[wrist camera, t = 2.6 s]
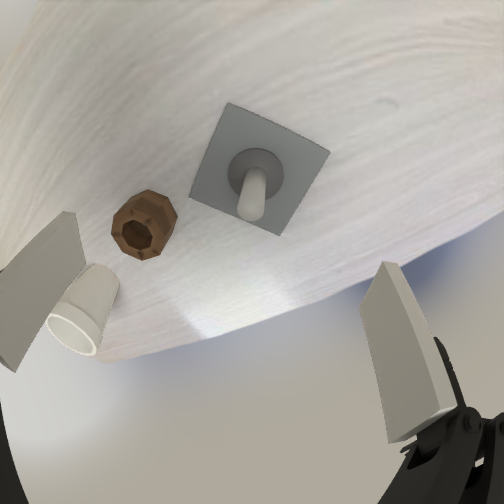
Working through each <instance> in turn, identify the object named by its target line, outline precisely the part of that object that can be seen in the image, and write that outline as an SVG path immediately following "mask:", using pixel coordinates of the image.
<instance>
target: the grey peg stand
mask: <svg viewBox="0 0 504 504" xmlns="http://www.w3.org/2000/svg"><path fill="white" fill-rule="evenodd" d="M329 154H330V151H328V150H327V149H325V148H323V147H321V146H319V145H318V144H316V143H314V142H312V141H310V140H308V139H306V138H304V137H303V136H301V135H299V134H297V133H295V132H293V131H291V130H289V129H287V128H285V127H283V126H281V125H279V124H276V123H274V122H272V121H270V120H268V119H266V118H264V117H261V116H259V115H257V114H255V113H252V112H250V111H248V110H245V109H243V108H241V107H238V106H236V105H233V104H231V103H228V104H227V106H226V108H225V110H224V113H223V115H222V117H221V119H220V122H219V124H218V126H217V128H216V131H215V133H214V135H213V138H212V140H211V142H210V145H209V147H208V149H207V152H206V154H205V157H204V159H203V162H202V164H201V167H200V169H199V172H198V174H197V177H196V179H195V182H194V184H193V187H192V190H191V192H190V195H189V198H192V199H194V200H197V201H199V202H201V203H204V204H206V205H209V206H211V207H213V208H216V209H218V210H220V211H223V212H225V213H228V214H230V215H232V216H235V217H237V218H239V219H242V220H244V221H246V222H249V223H251V224H253V225H255V226H258V227H260V228H262V229H265V230H267V231H269V232H272V233H274V234H276V235H278V236H280V235H281V233H282V231H283V230H284V228H285V227H286V225H287V223H288V222H289V220H290V219H291V217H292V215H293V214H294V212H295V210H296V209H297V207H298V206H299V204H300V202H301V201H302V199H303V197H304V196H305V194H306V192H307V191H308V189H309V188H310V186H311V184H312V183H313V181H314V179H315V178H316V176H317V174H318V173H319V171H320V169H321V168H322V166H323V164H324V163H325V161H326V159H327V158H328V156H329Z"/></svg>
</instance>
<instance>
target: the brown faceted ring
mask: <svg viewBox="0 0 504 504" xmlns="http://www.w3.org/2000/svg"><path fill="white" fill-rule="evenodd" d="M177 217H178V216H177V214H176V212H175V210H174V208H173V207H172V205H171V203H170V201H169V199H168V197H165V196H163V195H160V194H158V193H155V192H153V191H150V190H146V191H144V192H141V193H139V194H137V195H135V196H133V197H131V198H130V199H129V200H128V201H127V202H126V203H125V204H124V205H123V206H122V207H121V208H120V209H119V211H118V212H117V213H116V214H115V215H114V217H113V224H112V231H111V235H112V236H113V238H114V240H115V241H116V243H117V244H118V246H119V247H120V249H121V250H122V252H124V253H126V254H128V255H130V256H133V257H135V258H137V259H140V260H142V261H143V260H146V259H149V258H152V257H156V256H159V255H160V254H161V252H162V250H163V248H164V247H165V245H166V243H167V241H168V239H169V238H170V236H171V234H172V232H173V229H174V226H175V223H176V220H177ZM142 223H143V224H145V225H146V226H145V225H143V224H142Z"/></svg>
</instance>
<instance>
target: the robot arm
mask: <svg viewBox="0 0 504 504" xmlns="http://www.w3.org/2000/svg"><path fill="white" fill-rule="evenodd" d="M85 264H86V260H85V256H84V252H83V248H82V243H81V239H80V234H79V229H78V224H77V219H76V213H73V212H66V211H63V212H62V213H61V214H59V215H58V216H57V217H56V218H55V219H54V220H53V221H51V222H50V223H49V224H48V225H47V226H46V227H45V228H44V229H43V230H42V231H41V232H39V233H38V234H37V235H36V236H35V237H34V238H33V239H32V240H31V241H30V242H29V243H28V244H27V245H26V246H25V247H24V248H23V249H22V250H21V251H20V252H19V253H18V254H17V255H16V256H15V257H14V259H13V260H12V261H11V262H10V263H9V264H8V265H7V266H6V267H5V268H4V269H3V270H1V271H0V362H1V363H2V364H3V365H4V366H5V367H7V368H8V369H10V370H11V371H13V372H14V373H15V372H16V370H17V368H18V366H19V365H20V363H21V361H22V359H23V357H24V356H25V354H26V352H27V350H28V348H29V347H30V345H31V343H32V342H33V340H34V338H35V337H36V335H37V333H38V332H39V330H40V328H41V327H42V325H43V324H44V322H45V321H46V319H47V317H48V316H49V314H50V313H51V311H52V310H53V308H54V307H55V305H56V304H57V302H58V301H59V299H60V298H61V297H62V295H63V294H64V292H65V291H66V290H67V288H68V287H69V285H70V284H71V283H72V281H73V280H74V279H75V277H76V276H77V275H78V273H79V272H80V271H81V269H82V268H83V267H84V265H85ZM359 311H360V315H361V318H362V322H363V326H364V329H365V333H366V337H367V341H368V345H369V349H370V353H371V357H372V361H373V365H374V369H375V374H376V378H377V383H378V387H379V392H380V397H381V402H382V407H383V413H384V418H385V424H386V430H387V437H388V443H389V444H390V443H395V442H400V441H405V440H407V439H409V438H411V437H412V436H414V435H417V440H416V441H414V442H413V443H411V444H409V445H407V446H405V447H403V448H402V450H401V451H400V453H403V452H405V451H407V450H409V449H410V450H409V452H407V453H406V454H405V456H406V458H405V460H404V461H403V463H402V465H401V467H400V469H399V471H398V472H397V474H396V476H395V477H394V479H393V480H392V482H391V484H390V485H389V487H388V489H387V490H386V492H385V493H384V495H383V496H382V498H381V499H380V501H379V502H378V504H504V412H503V413H500V414H499V415H498V416H496V417H495V418H494V419H486V418H481V416H480V414H479V412H478V411H477V410H476V409H474V408H472V407H466V404H465V402H464V399H463V395H462V392H461V389H460V387H459V383H458V380H457V378H456V375H455V372H454V371H453V367H452V364H451V362H450V361H449V357H448V354H447V352H446V349H445V347H444V346H443V344H442V343H441V342H440V341H439V339H438V338H437V337H433V336H432V333H431V331H430V329H429V327H428V325H427V322H426V320H425V318H424V316H423V313H422V311H421V309H420V307H419V305H418V303H417V301H416V299H415V297H414V294H413V292H412V290H411V288H410V286H409V285H408V283H407V281H406V279H405V277H404V275H403V273H402V271H401V269H400V267H399V266H398V264H397V263H392V262H386V261H382V263H381V265H380V267H379V269H378V272H377V274H376V276H375V278H374V279H373V282H372V283H371V285H370V287H369V289H368V291H367V293H366V295H365V297H364V299H363V300H362V303H361V304H360V306H359ZM483 457H484V462H483V464H482V465H480V466H478V467H475V461H477V460H479V459H481V458H483ZM0 504H29V503H28V500H27V498H26V496H25V493H24V490H23V488H22V485H21V483H20V480H19V477H18V475H17V471H16V468H15V465H14V462H13V458H12V455H11V451H10V447H9V443H8V439H7V435H6V430H5V426H4V421H3V416H2V410H1V403H0Z"/></svg>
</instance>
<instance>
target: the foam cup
mask: <svg viewBox="0 0 504 504" xmlns="http://www.w3.org/2000/svg"><path fill="white" fill-rule="evenodd" d="M119 286H120V284H119V279H118V277H117V276H116V274H115V273H114V272H113V271H112V270H111V269H110V268H108V267H107V266H104V265H102V264H94V265H92V266H91V267H90V268H88V269H87V270H86V271H85V272H84V273H83V274H82V275H81V276H80V277H79V278H78V279H77V280H76V281H75V282H74V284H73V285H72V286H71V287H70V288H69V289H68V290H67V291H66V292H65V293H64V294H63V295H62V297H61V298H60V299H59V301H58V302H57V304H56V305H55V307H54V308H53V310H52V311H51V313H50V314H49V316H48V317H47V319H46V321H45V324H46V326H47V328H48V329H49V331H50V332H51V333H52V335H53V336H54V337H55V338H56V339H57V340H58V341H59V342H61V343H62V344H63V345H65V346H66V347H67V348H69V349H71V350H73V351H75V352H77V353H79V354H82V355H87V356H91V355H95V354H96V352H97V350H98V348H99V345H100V343H101V341H102V338H103V336H102V334H103V331H104V328H105V325H106V322H107V319H108V316H109V313H110V310H111V307H112V305H113V302H114V299H115V296H116V294H117V291H118V289H119Z"/></svg>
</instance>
